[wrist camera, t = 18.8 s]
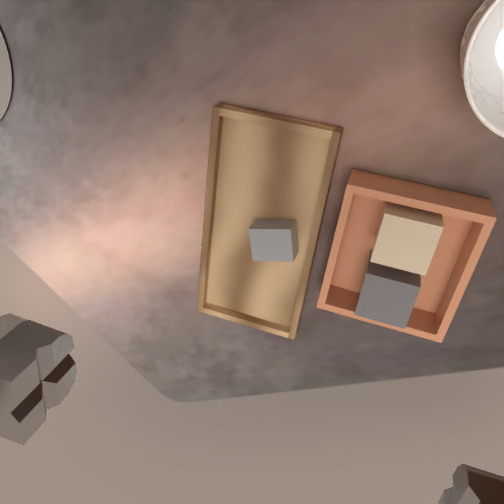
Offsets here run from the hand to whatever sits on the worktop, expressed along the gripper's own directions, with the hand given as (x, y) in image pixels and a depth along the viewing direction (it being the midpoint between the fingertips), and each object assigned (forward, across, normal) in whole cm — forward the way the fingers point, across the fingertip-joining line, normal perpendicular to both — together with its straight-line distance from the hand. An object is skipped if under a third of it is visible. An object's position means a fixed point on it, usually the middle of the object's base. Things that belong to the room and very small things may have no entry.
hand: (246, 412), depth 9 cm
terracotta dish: (+29, -5, +10) cm, 31 cm away
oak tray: (+29, +7, +11) cm, 32 cm away
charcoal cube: (+29, -5, +12) cm, 32 cm away
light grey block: (+29, +5, +11) cm, 31 cm away
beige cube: (+29, -5, +8) cm, 30 cm away
